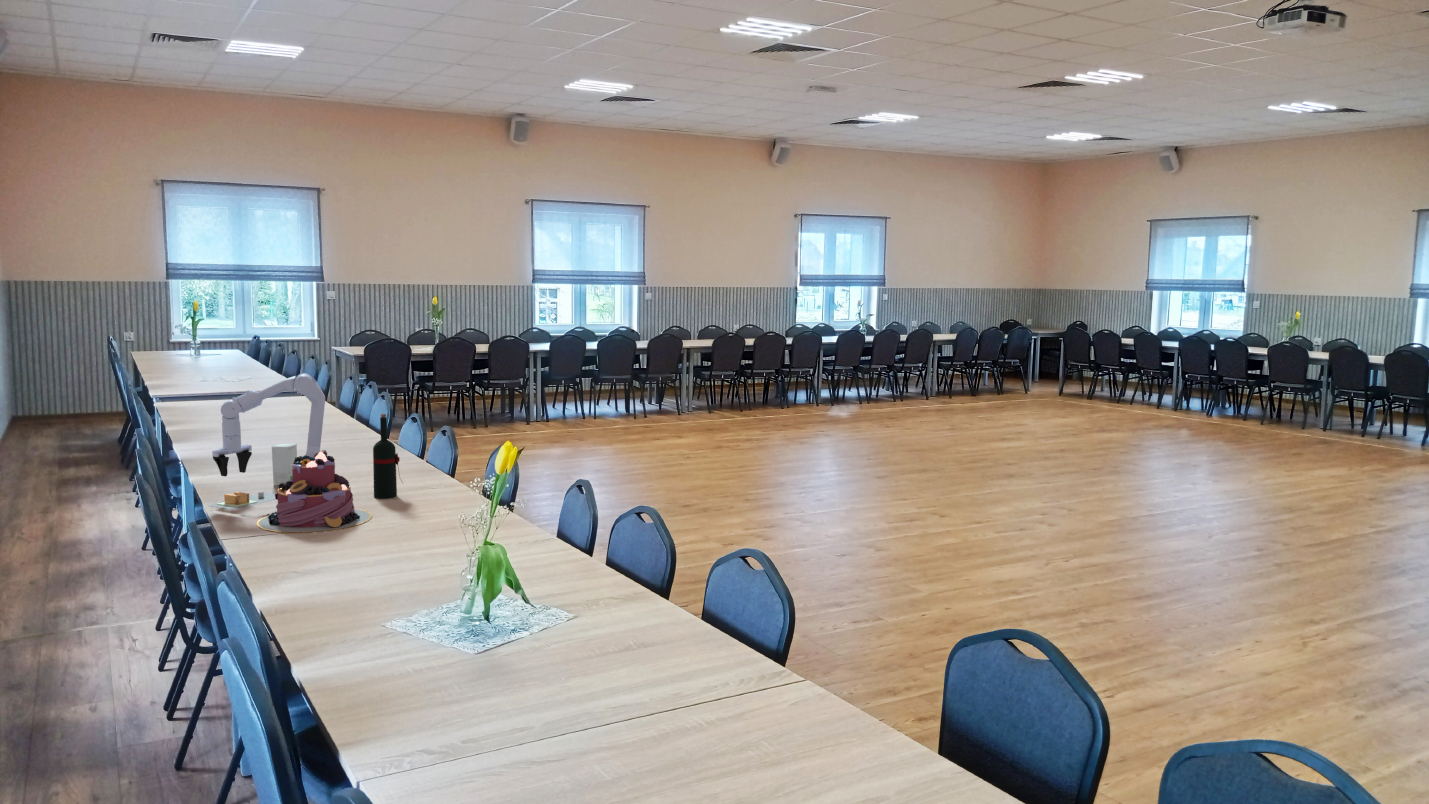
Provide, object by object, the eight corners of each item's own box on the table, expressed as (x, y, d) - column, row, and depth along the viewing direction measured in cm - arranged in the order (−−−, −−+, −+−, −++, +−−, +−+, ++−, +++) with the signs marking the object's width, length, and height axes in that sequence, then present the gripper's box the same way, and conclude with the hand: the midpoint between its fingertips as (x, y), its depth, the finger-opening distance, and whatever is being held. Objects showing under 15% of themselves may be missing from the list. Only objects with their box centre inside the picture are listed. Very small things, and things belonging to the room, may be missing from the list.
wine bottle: (404, 497, 367) (402, 414, 363) (374, 499, 364) (372, 415, 360) (402, 493, 374) (401, 412, 371) (373, 495, 371) (371, 412, 367)
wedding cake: (248, 537, 312) (245, 463, 309) (264, 510, 346) (262, 444, 343) (369, 530, 322) (367, 459, 319) (374, 505, 355) (372, 441, 352)
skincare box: (289, 488, 380) (288, 446, 378) (271, 488, 380) (270, 446, 378) (299, 483, 388) (297, 443, 386) (281, 483, 389) (280, 442, 387)
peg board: (289, 498, 363) (289, 490, 363) (232, 512, 342) (232, 503, 341) (264, 495, 368) (264, 486, 368) (207, 508, 347) (206, 499, 346)
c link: (249, 502, 351) (249, 493, 351) (237, 504, 347) (237, 496, 346) (236, 500, 354) (236, 491, 353) (224, 503, 349) (224, 494, 349)
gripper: (240, 431, 362) (242, 469, 363) (205, 437, 349) (207, 476, 350) (255, 433, 359) (256, 471, 361) (220, 439, 346) (221, 478, 347)
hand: (233, 474), depth 355 cm, fingers open, 7 cm apart
